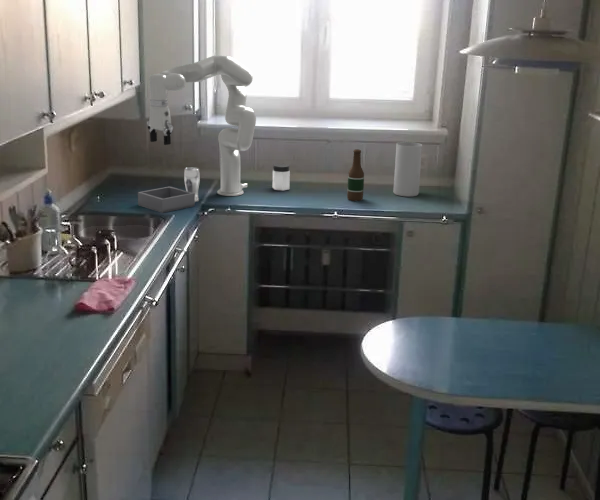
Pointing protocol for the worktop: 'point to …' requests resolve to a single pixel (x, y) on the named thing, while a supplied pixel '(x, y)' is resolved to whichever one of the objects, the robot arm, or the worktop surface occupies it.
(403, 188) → the cylinder vase
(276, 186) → the jar
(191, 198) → the bin
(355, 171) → the beer bottle
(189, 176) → the beer glass
